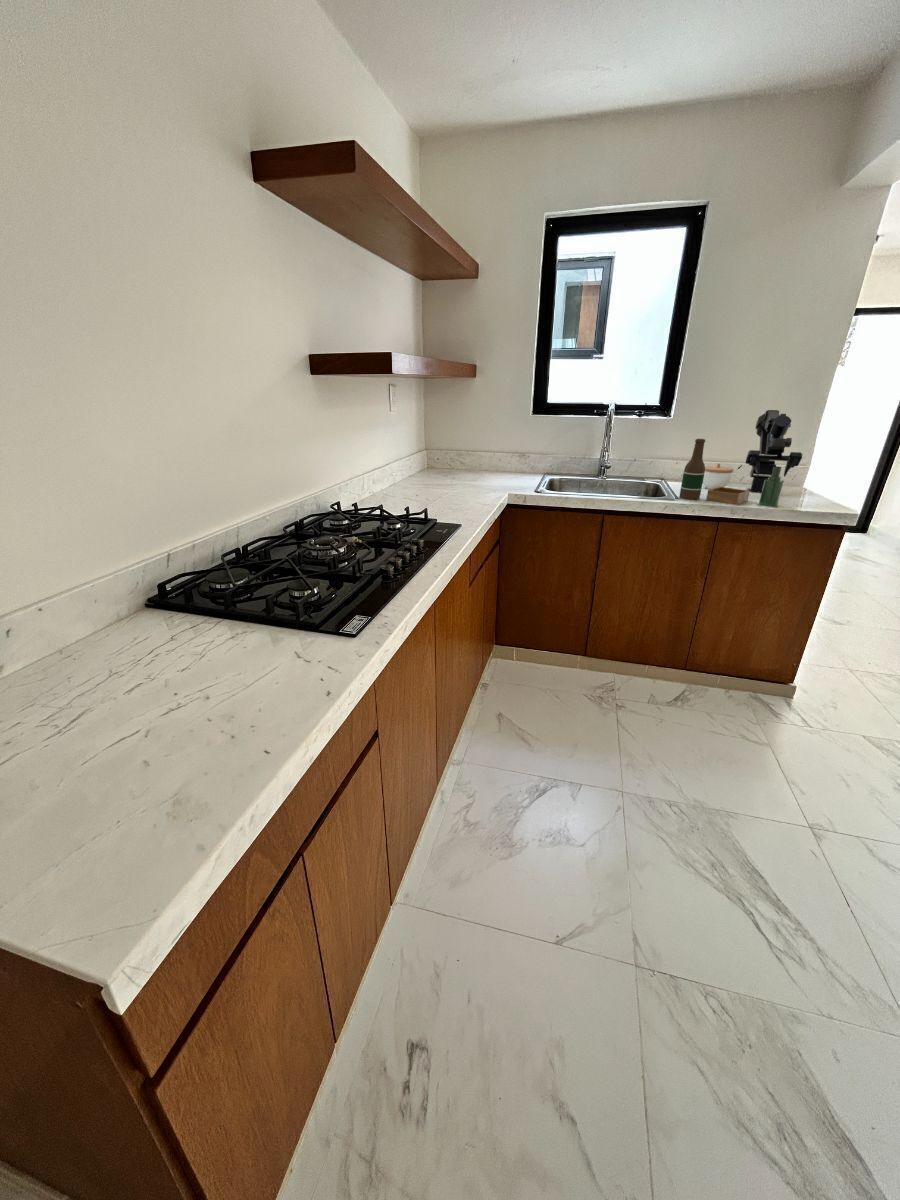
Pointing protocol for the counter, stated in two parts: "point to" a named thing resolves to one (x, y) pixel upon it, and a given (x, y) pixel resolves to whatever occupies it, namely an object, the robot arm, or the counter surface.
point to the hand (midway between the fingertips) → (771, 475)
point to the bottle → (772, 489)
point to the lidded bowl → (716, 476)
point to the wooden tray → (728, 495)
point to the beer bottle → (694, 474)
